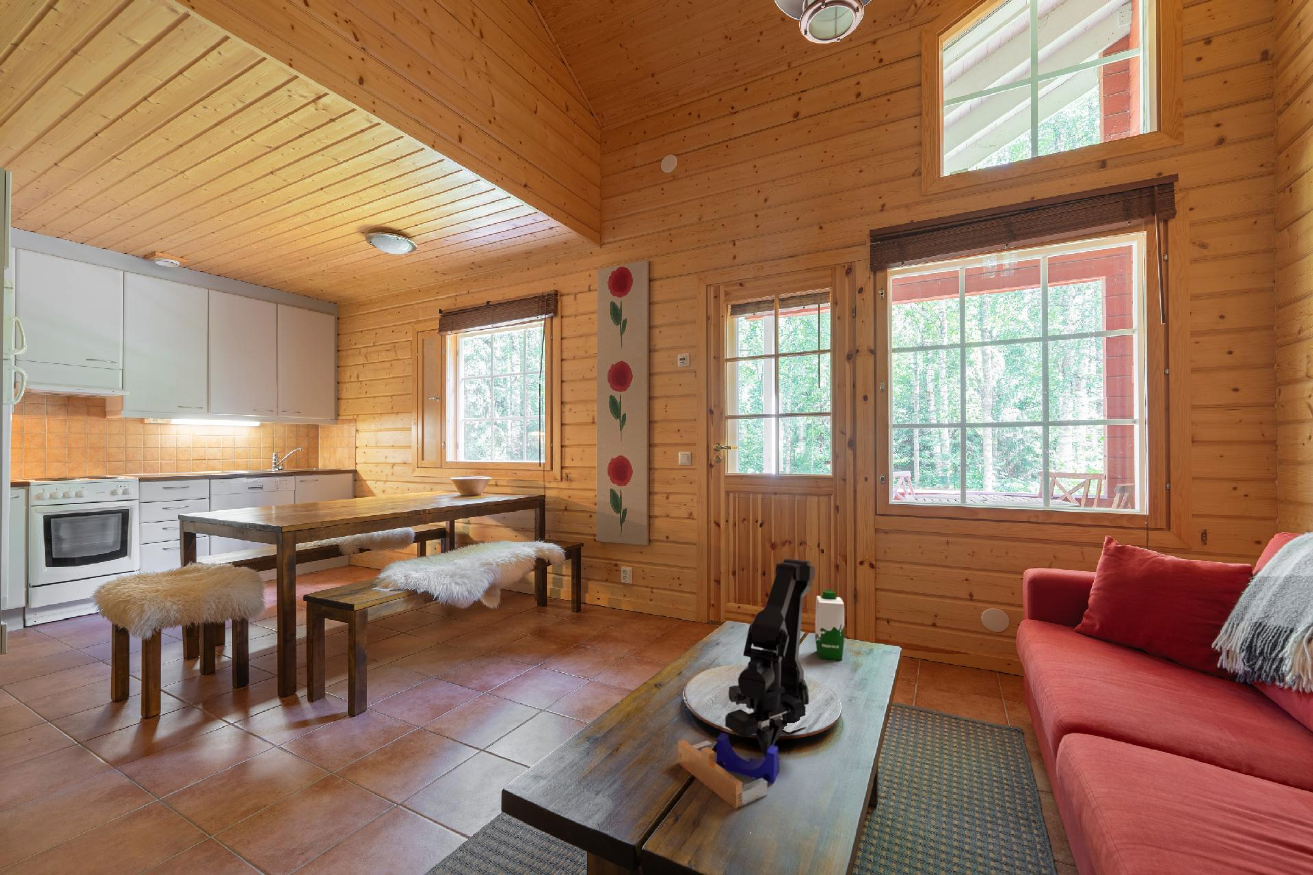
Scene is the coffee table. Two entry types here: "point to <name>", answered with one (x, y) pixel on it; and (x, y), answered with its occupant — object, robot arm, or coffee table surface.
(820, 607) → the milk carton
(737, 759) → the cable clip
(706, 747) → the keeper
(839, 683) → the coffee table surface
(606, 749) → the coffee table surface
